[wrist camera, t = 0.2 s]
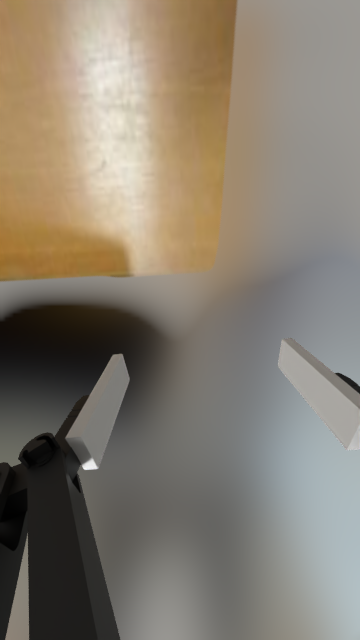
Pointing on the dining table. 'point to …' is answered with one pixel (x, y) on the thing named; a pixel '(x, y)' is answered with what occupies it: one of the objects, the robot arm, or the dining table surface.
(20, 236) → the dining table surface
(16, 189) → the dining table surface
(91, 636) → the robot arm
